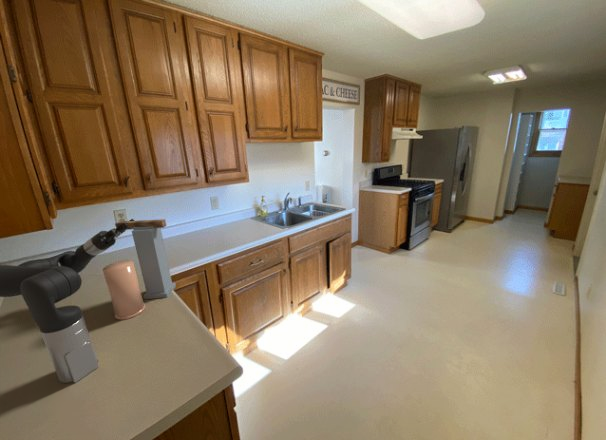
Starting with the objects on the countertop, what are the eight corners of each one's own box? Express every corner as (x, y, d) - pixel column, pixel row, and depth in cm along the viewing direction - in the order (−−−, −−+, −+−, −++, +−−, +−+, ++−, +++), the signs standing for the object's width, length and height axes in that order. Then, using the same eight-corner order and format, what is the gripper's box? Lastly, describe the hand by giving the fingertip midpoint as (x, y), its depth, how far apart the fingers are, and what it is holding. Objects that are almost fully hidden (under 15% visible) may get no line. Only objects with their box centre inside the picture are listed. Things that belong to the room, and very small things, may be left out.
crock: (150, 307, 109) (140, 262, 103) (125, 322, 99) (111, 274, 94) (135, 301, 113) (124, 258, 107) (109, 316, 104) (95, 269, 98)
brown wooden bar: (166, 225, 113) (165, 219, 112) (163, 227, 110) (161, 221, 109) (121, 228, 113) (119, 221, 112) (116, 230, 110) (114, 223, 109)
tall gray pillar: (175, 285, 125) (162, 221, 116) (167, 297, 116) (152, 228, 107) (154, 287, 125) (140, 223, 116) (144, 299, 115) (127, 229, 106)
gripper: (116, 243, 119) (144, 224, 118) (94, 256, 106) (126, 234, 104) (104, 231, 117) (133, 211, 116) (80, 242, 104) (113, 220, 102)
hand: (129, 222), depth 110 cm, fingers open, 5 cm apart
